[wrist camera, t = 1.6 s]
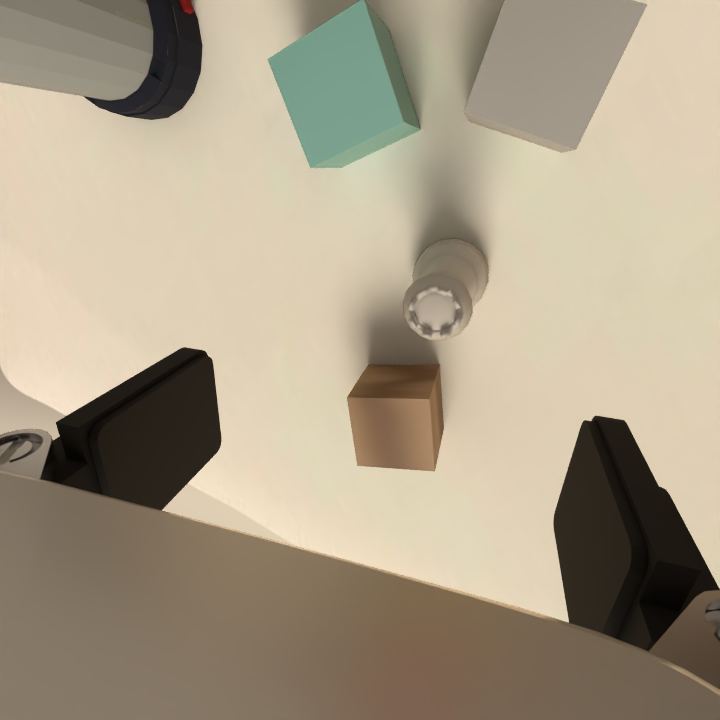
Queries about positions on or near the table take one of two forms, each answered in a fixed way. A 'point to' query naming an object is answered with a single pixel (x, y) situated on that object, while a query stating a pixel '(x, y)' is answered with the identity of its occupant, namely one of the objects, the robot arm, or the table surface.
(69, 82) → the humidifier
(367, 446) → the walnut cube
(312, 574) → the robot arm
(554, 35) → the grey cube
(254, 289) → the table surface
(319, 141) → the teal cube
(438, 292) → the rook chess piece
